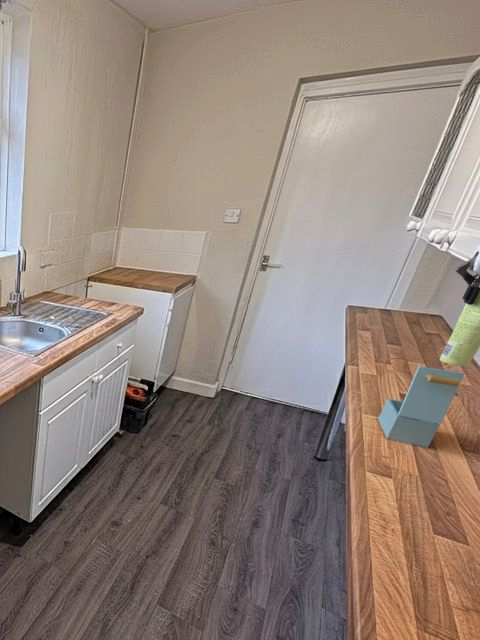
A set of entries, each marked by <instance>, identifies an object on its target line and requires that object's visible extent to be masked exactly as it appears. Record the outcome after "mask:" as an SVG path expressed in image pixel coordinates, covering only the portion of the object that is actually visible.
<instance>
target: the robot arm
mask: <svg viewBox="0 0 480 640" xmlns="http://www.w3.org/2000/svg"><path fill="white" fill-rule="evenodd" d="M468 270H469V271H470V272H474V274H473V275H472V274H471V273H470V272H468ZM453 271H454V272H455V273H456V274H457V275H459V276H460V277H461V278H462V279H463V280H464V281H465V283H466V284H467V288H466V290H465V292H464V294H463V296H462V300H463V303H464V304H465V305H466V304H469V305H472V304H474V302H475V300H476V298H477V296H478V294H479V292H480V287H479V286H480V243H479V244H478V245H477V247H476V248H475V250H474V252H473V254H472V255H471V257H470V259H468V260H467V261H465V262H463V263H462V264H460V265H458V266H457V267H455V268H454V269H453Z"/></svg>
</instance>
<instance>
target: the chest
mask: <svg viewBox="0 0 480 640" xmlns="http://www.w3.org/2000/svg"><path fill="white" fill-rule="evenodd" d="M403 402H404V400H398V399H392V398H387V399H386V401H385V403H384V405H383V407H382V409H381V410H382V411H381V412H380V414H379V416H378V418H377V420H378V423H379V424H380V427H381V430H382V431H383V433H384V435H385V437H386V439H388V440H392V441H397V442H401V443H405V444H409V445H414V446H419V447H423V448H427V449H428V448H429V446H430V444H431V442H432V440H433V438H434V437H435V435H436V433H437V431H438V429H439V427H440V424H439V423H434V422H429V421H424V420H419V419H415V418H410V417H405V416H400V415H398V413H399V411H400V409H401V406H402V404H403Z"/></svg>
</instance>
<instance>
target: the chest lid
mask: <svg viewBox="0 0 480 640" xmlns="http://www.w3.org/2000/svg"><path fill="white" fill-rule="evenodd" d="M464 376H465V373H464V372H459V371H454V370H453V371H452V370H446V369H440V368H433V367H427V366H421V365H418V367H417V369H416V371H415V374H414V376H413V377H412V381H411V382H410V385H409V388H408V390H407V392H406V395H405V397H404V400H403V404H402V406H401V409H400V411H399V413H398V415H400V416H405V417H410V418H415V419H419V420H424V421H429V422H434V423H439V425H440V424H442V423H443V421H444V419H445V417H446V415H447V412H448V410H449V409H450V406H451V404H452V402H453V399H454V397H455V395H456V393H457V391H458V389H459V387H460V385H461V382H462V381H463V378H464Z"/></svg>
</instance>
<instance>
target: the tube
mask: <svg viewBox="0 0 480 640" xmlns="http://www.w3.org/2000/svg"><path fill="white" fill-rule="evenodd" d="M479 287H480V286H479ZM479 348H480V292H479V294H478V296H477V298H476V300H475V302H474V304H472V305H469V304H466V303H465V305H464V307H463V309H462V311H461V314H460V316H459V318H458V320H457V322H456V325H455V327H454V329H453V331H452V333H451V335H450V337H449V339H448V341H447V344H446V345H445V347H444V349H443V351H442V353H441V355H440V357H439V361H440V362H442V363H445V364H448V365H452V366H458V367H468V366H469V365H470V364H471V363H472V361H473V359H474V357H475V356H476V354H477V352H478V350H479Z"/></svg>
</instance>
